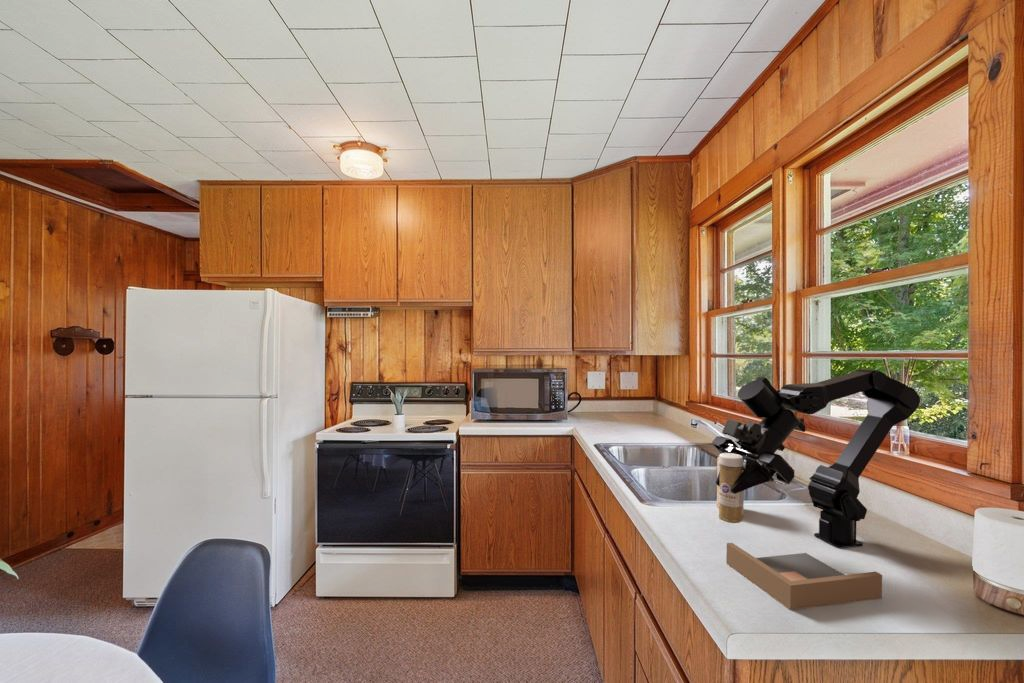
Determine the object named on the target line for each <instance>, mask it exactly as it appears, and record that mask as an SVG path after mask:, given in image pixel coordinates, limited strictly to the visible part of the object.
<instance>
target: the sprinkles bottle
mask: <svg viewBox="0 0 1024 683" xmlns="http://www.w3.org/2000/svg"><path fill="white" fill-rule="evenodd" d="M718 457H719V463H720V464H719V465H720V487H719V508H718V519H719V520H721V521H723V522H726V523H728V524H739V523H742V522H743V518H742V491H741V492H738V493H736V494H734V493H733V492H732V491H731V488H732V486H733V485H734V483H735V482H736V480H737V479H738V478H739V476H740V475H741V473H742V468H743V465H744V459H743V457H742V456H741V455H738V454H734V453H720V454H719V455H718Z"/></svg>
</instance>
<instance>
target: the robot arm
mask: <svg viewBox="0 0 1024 683" xmlns="http://www.w3.org/2000/svg"><path fill="white" fill-rule="evenodd" d="M858 393H862V395H863V396H864V397H866V398H867V400H866V408H867V414H866V416H865V418H864V419H863V421H861V423H860V425H859V427H858V428H857V429H856V431H855V433H854V434H853V435H852V437H851V439H849V441H848V443H847V444H846V446H845V447H844V449H843V450H842V452H841V453H840V454H839V456H838V457H837V459H836V461H835V462H834V463H833V464H832V465H830V466H825V465H823V464H820V465H818V467H817V468H816V470H815V472H814V473H813V474H812V475H811V476H810V477H809V478H808V479H809V480H810V482H809V483H808V486H807V489H808V494H809V496H810V498H811V502H812V504H813V508H817V509H819V510H820V517H819V520H818V532H815V533H814V534H813V536H814V537H816V538H817V539H820V540H822V541H824V542H826V543H827V544H830V545H832V546H833V547H836V548H841V549H842V548H850V547H859V546H860V547H861V546H863V545H864V543H863V542H862V541H860V540H858V539H857V522H860V521H861V520H865V518H866V515H867V511H868V508H867V507H866V506H865V505H864V504H863V503H862V502H861V501H860V500H859V498H858V496H859V494H860V492H861V491H860V483H859V478H860V477H861V475H862V473H863V472H864V470H865V469H866V467H867V466H868V465H869V462H871V460H872V458H873V457H874V455H875V454H876V452H877V451H878V449H879V448H880V447H881V445H882V443H883V442H884V440H885V438H886V437H887V436H888V434H889V433H890V432H891V430H892V428H893V427H894V426H896V425H898V424H900V423H902V422H904V421H906V420H908V419H909V418H910V417H911V416H912V415H913V414H914V413H915V412H916V410H917V409H919V406H920V404H921V403H920V402H921V398H920V395H919V394H918V392H917V391H916V390H915V388H913V387H911V386H908V385H906V384H904V383H903V382H901V381H898V380H896V379H895V378H892V377H890V376H888V375H887V374H886V373H884V372H882V371H880V370H878V369H868V368H867V369H865V368H859V369H857V370H855V371H854V372H852V371H851V372H850V373H845V374H843V375H840V376H836V377H833V378H829V379H825V380H822V381H819V382H813V383H812V382H811V383H810V382H809V383H806V382H805V383H803V382H802V383H799V382H798V383H788V384H785V385H783V386H782V387H781V388H780V389H778V390H776V389H775V387H774V386H773V385H772V384H771V381H770V380H769V379H768V378H767V377H764V376H758V377H757V378H756V379H755V380H751V381H749V382H748V383H746V384H745V385H742V386H741V387H740V388H739V390H738V392H737V398H739V400H740V401H741V402H742V403H743V404H744V406H746V408H748V410H749V412H751V413H752V414H753V415H754V416H755V417H757V418H762V419H761V420H760V422H759V423H757V422H753V421H748V423H742V422H739V421H735V420H732V419H728V418H727V419H726V422H725V425H724V427H723V429H722V431H721V434H724V435H726V436H727V435H728V436H730V437H732V438H734V440H735V441H733V439H731V438H728V437H725V436H723V435H722V436H720V435H719V436H716V437H715V438H714V439H713V440H712V441H711V445H713V447H714V448H715V449H716V450H717V451H718V452H719V453H720V454H721V453H734V454H738V455H741V456H742V457H743V461H744V460H745V466H744V467H743V468H742V471H743V470H744V471H743V472H742V473H741V475H740V476H739V478H738V479H737V480H736V482H735V483H734V485H733V486H732V488H731V491H732V492H733V493H734V494H736V493H738V492H741V491H743V490H744V491H746V490H748V489H750V488H753V487H755V486H759V485H761V484H765V483H768V482H771V483H772V482H774V481H775V479H774V478H773V477H774V476H776V480H778V481H779V482H781V483H784V484H786V485H789V484H790V483H792V481H793V480H794V479H795V470H794V469H793V467H792V466H791V465H790V464H789V463H788V462H787V461H786V459H785V458H783V456H782V455H781V454H777V453H776V452H777V451H781V452H783V451H784V450H785V449H786V447H785V445H783V443H784V442H785V441H786V440H787V438H788V437H789V436H790V435H791V434H792V433H793V432H794V431H799V432H802V433H805V432H806V431H807V430H806V425H805V419H804V418H802V417H798V416H797V415H796V414H795V413H800V414H805V415H813V414H816V413H818V412H820V411H821V410H824V409H825V408H826V407H827V405H828V404H829V403H830V402H833V401H835V400H838V399H842V398H845V397H846V398H847V397H848V396H853V395H856V394H858ZM794 412H795V413H794ZM738 445H739V446H740V447H739V446H738ZM715 484H716V486H717V485H718V486H720V472H719V475H718V477H717V478H716V481H715Z"/></svg>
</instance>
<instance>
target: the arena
mask: <svg viewBox="0 0 1024 683" xmlns="http://www.w3.org/2000/svg"><path fill="white" fill-rule="evenodd" d="M726 565H727V566H729V567H730V568H732V569H733V570H734V571H736V572H737V573H739V574H740V575H742V576H743V577H745V579H747V580H749V581H750V582H751V583H752V584H754V585H756V586H757V587H758V588H760V589H761V590H762V591H764V592H765V593H766V594H768V595H769V596H771V597H772V598H773V599H775V600H776V601H777V602H779V603H780V604H782V606H784V607H785V608H786V609H788V610H789V611H791V610H801V609H807V608H808V609H809V608H817V607H824V606H831V605H840V604H846V603H848V604H849V603H855V602H861V601H863V602H864V601H870V600H877V599H882V598H883V574H881V573H880V572H878V571H866V572H859V573H851V574H845V573H843V572H841V571H839V570H837V569H835V568H834V567H832V566H830V565H828V564H827V563H825V562H823V561H822V560H821V561H820V560H819V559H817V558H816V557H814V556H812V555H810V554H808V552H804V553H803V552H801V553H792V554H783V555H782V554H781V555H770V556H761V557H755V556H753V555H751V553H749V552H748V551H745V550H744V549H743V548H741V547H739V546H738V545H737V544H735V543H733V542H727V543H726Z"/></svg>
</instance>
